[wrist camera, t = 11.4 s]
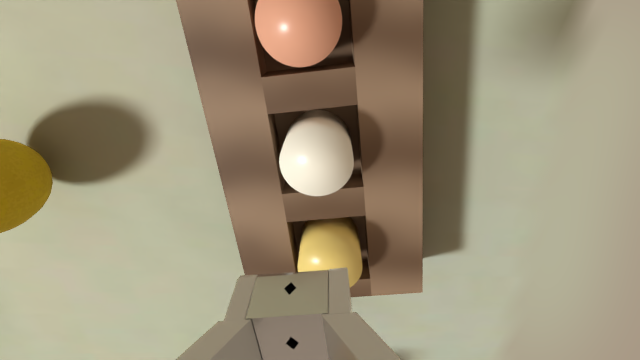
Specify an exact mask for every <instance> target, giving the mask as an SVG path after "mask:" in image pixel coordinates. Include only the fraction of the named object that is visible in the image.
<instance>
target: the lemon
mask: <svg viewBox="0 0 640 360" xmlns="http://www.w3.org/2000/svg"><path fill="white" fill-rule="evenodd" d="M52 183H53V182H52V173H51V170H50V168H49V166H48V164H47V163H46V161H45V160H44V159H43V157H42V156H41V155H40V154H39V153H37V152H36V151H35V150H33V149H32V148H30V147H28V146H26V145H24V144H21V143H18V142H14V141H10V140H6V139H0V233H2V232H5V231H7V230H10V229H12V228H15V227H17V226H19V225H20V224H22V223H24V222H25V221H27V220H28V219H29V218H31V217H32V216H33V215H34V214H35V213H37V212H38V211H39V210H40V209H41V208H42V207H43V205H44V204H45V202H46V201H47V199H48V197H49V195H50V193H51V188H52Z"/></svg>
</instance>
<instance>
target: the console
mask: <svg viewBox="0 0 640 360" xmlns="http://www.w3.org/2000/svg"><path fill="white" fill-rule="evenodd" d="M176 2H177V6H178V10H179V14H180V18H181V22H182V26H183V30H184V34H185V38H186V42H187V46H188V50H189V54H190V58H191V62H192V66H193V70H194V74H195V78H196V82H197V86H198V90H199V94H200V98H201V101H202V105H203V109H204V113H205V117H206V121H207V125H208V129H209V133H210V137H211V141H212V145H213V149H214V153H215V157H216V161H217V165H218V169H219V173H220V177H221V181H222V185H223V189H224V193H225V197H226V201H227V205H228V209H229V213H230V217H231V221H232V225H233V229H234V233H235V237H236V241H237V245H238V249H239V253H240V257H241V261H242V265H243V269H244V273H245V275H258V274H273V273H292V272H293V273H294V272H298V258H299V250H300V243H301V235H302V229H303V227H304V225H305V223H306V222H307V221H308V220H318V219H330V218H342V217H349V218H350V219H352V221H353V222H354V223H355V224H356V226H357V229H358V233H359V241H360V249H361V258H362V274H361V276H360V278H359V280H358V281H357V282H356V283H355V284H354V285H353V286H352V287H350V295H351V297H360V296H375V295H390V294H405V293H420V292H422V259H423V0H338V2H339V4H340V8H341V12H342V29H341V34H340V37H339V40H338V42H337V44H336V46H335V48H334V49H333V51H332V52H331V53H330V54H329V55H328V56H327V57H326V58H325V59H323V60H322V61H320V62H319V63H316V64H314V65H311V66H307V67H292V66H288V65H285V64H282V63H281V62H279V61H277V60H276V59H274V58H273V57H272V56H271V55H270V54H269V53H268V52H267V51H266V50H265V49H264V47H263V46H262V44H261V42H260V40H259V38H258V35H257V31H256V27H255V10H256V5H257V2H258V0H176ZM313 110H324V111H328V112H331V113H333V114H335V115H337V116H338V117H339V118H340V119H342V120H343V122H344V123H345V124H346V126H347V128H348V130H349V133H350V137H351V144H352V151H353V158H354V167H353V171H352V174H351V176H350V178H349V180H348V181H347V183H346V184H345V185H344V186H343V187H342V188H340V189H339V190H338V191H336V192H334V193H332V194H329V195H325V196H310V195H306V194H303V193H300V192H298V191H297V190H295V189H294V188H292V187H291V186H290V185H289V184H288V183H287V182H286V180H285V179H284V177H283V175H282V173H281V170H280V164H279V157H280V153H281V150H282V147H283V144H284V141H285V138H286V135H287V133H288V130H289V128H290V126H291V124H292V123H293V121H294V120H295V119H296V118H297V117H299V116H300V115H302V114H304V113H306V112H309V111H313Z"/></svg>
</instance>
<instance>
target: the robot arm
mask: <svg viewBox="0 0 640 360" xmlns="http://www.w3.org/2000/svg"><path fill="white" fill-rule="evenodd" d="M176 360H401V359H400V358H399V357H398V356H397V355H396V354H395V352H394V351H393V350H392V349H391V348H390V347H389V346H388V345H387V344H386V343H385V342H384V341H383V340H382V339H381V338H380V337H379V336H378V335H377V333H376V332H375V331H374V330H373V329H372V328H371V327H370V326H369V325H368V324H367V323H366V322H365V321H364V320H363V319H362V318H361V317H360V316H359V315H358V313H357V312H352V305H351V295H350V286H349V276H348V269H347V267H345V268H335V269H329V270H318V271H306V272H294V273H293V272H292V273H273V274H258V275H242V276H240V277H239V278H238V279H237V282H236V285H235V288H234V291H233V294H232V297H231V300H230V304H229V307H228V310H227V313H226V316H225V319H224V321H218V322H217V323H216V324H215V325H214V326H213V327H212V328H210V329H209V330H208V331H207V332H206V333H205V334H204V335H203V336H202V337H200V338H199V339H198V340H197V341H196V342H195V343H194V344H193V345H191V346H190V347H189V348H188V349H187V350H186V351H185V352H184V353H183V354H181V355H180V356H179V357H178V358H177V359H176Z"/></svg>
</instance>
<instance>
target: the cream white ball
mask: <svg viewBox="0 0 640 360" xmlns="http://www.w3.org/2000/svg"><path fill="white" fill-rule="evenodd" d="M279 164H280V170H281V173H282V175H283V177H284V179H285V180H286V182H287V183H288V184H289V185H290V186H291V187H292V188H294V189H295V190H297V191H298V192H300V193H303V194H306V195H310V196H325V195H329V194H332V193H334V192H336V191H338V190H339V189H340V188H342V187H343V186H344V185H345V184H346V183H347V181H348V180H349V178H350V176H351V174H352V171H353V167H354V158H353V151H352V144H351V137H350V133H349V130H348V128H347V126H346V124H345V123H344V122H343V120H342V119H340V118H339V117H338V116H337V115H335V114H333V113H331V112H328V111H324V110H313V111H309V112H306V113H304V114H302V115H300V116H299V117H297V118H296V119H295V120H294V121H293V123H292V124H291V126H290V128H289V130H288V133H287V135H286V138H285V141H284V144H283V147H282V150H281V153H280V157H279Z"/></svg>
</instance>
